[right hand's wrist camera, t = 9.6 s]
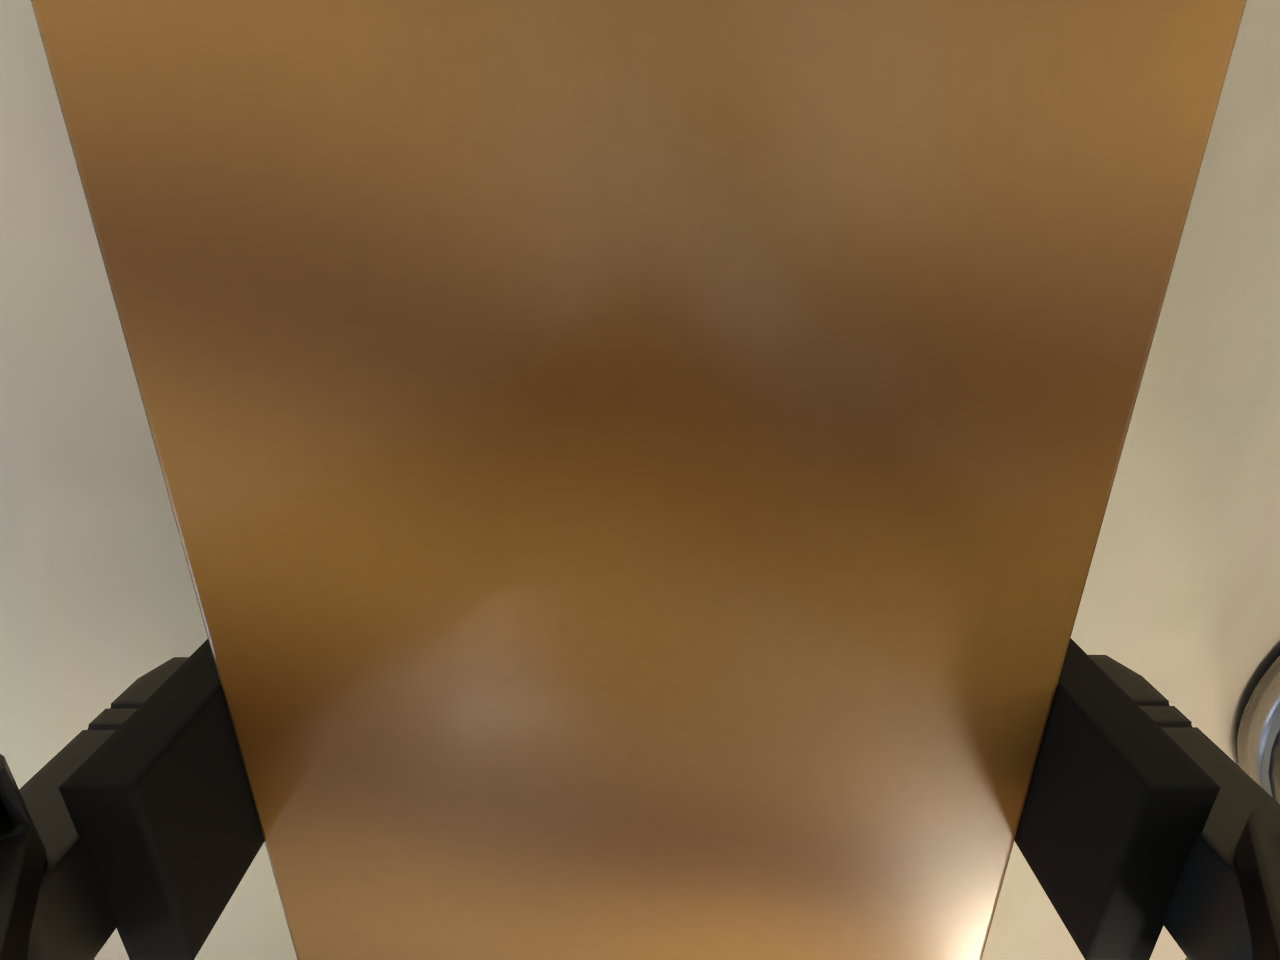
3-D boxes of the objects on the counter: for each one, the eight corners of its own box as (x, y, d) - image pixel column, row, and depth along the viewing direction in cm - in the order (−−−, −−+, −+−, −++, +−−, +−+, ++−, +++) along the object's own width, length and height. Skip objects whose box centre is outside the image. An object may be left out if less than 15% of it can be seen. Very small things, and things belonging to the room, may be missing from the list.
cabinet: (329, -355, 12) (-502, -1883, 3) (947, -355, 12) (1772, -1868, 3) (450, 640, 19) (301, 983, 11) (827, 640, 19) (978, 982, 11)
